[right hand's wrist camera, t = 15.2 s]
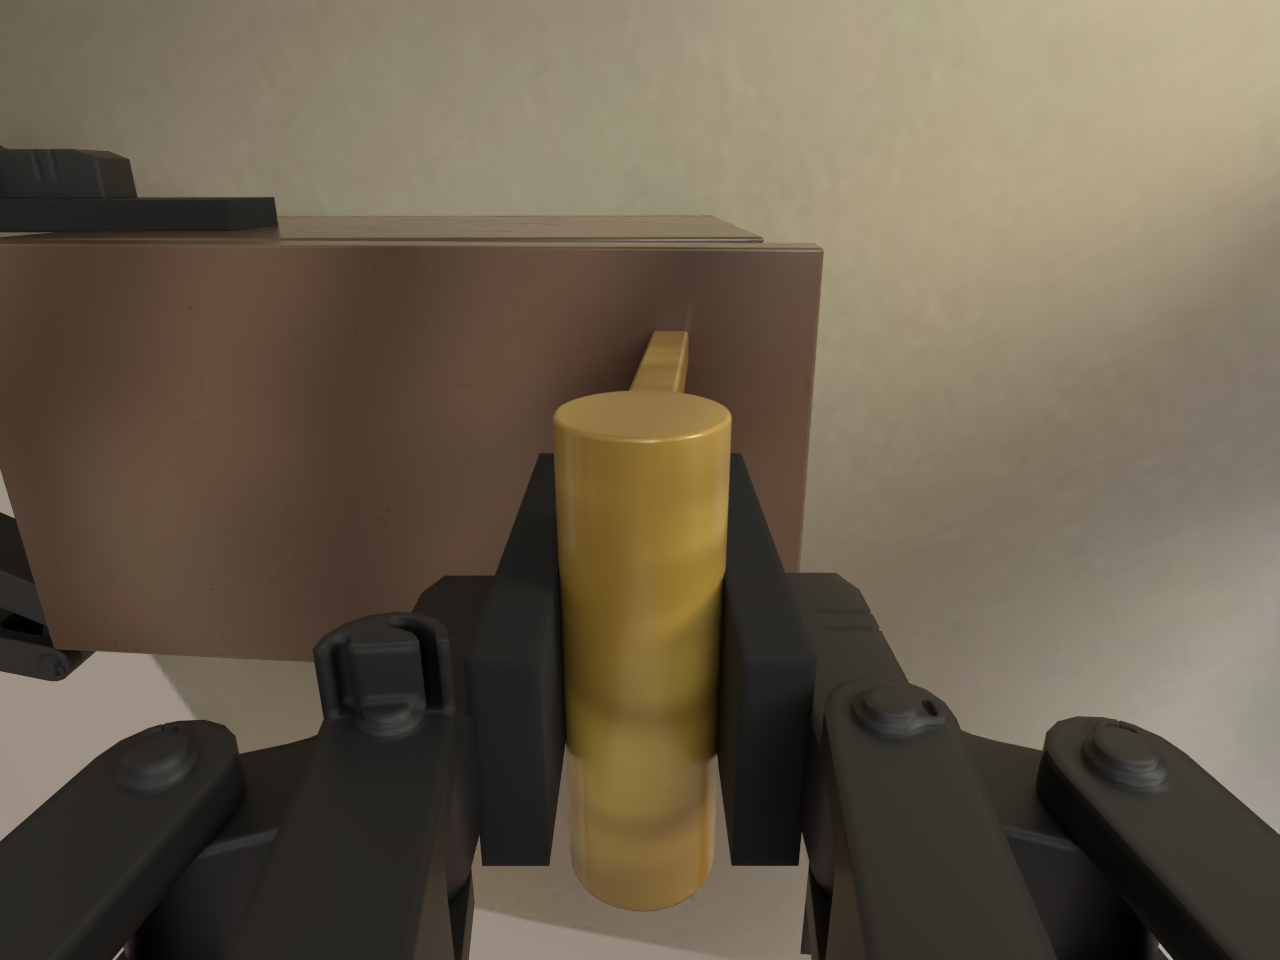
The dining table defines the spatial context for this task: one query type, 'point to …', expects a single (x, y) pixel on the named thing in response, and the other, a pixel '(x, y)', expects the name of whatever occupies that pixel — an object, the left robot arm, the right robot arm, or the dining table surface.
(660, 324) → the lid
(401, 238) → the chest
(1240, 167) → the dining table surface
